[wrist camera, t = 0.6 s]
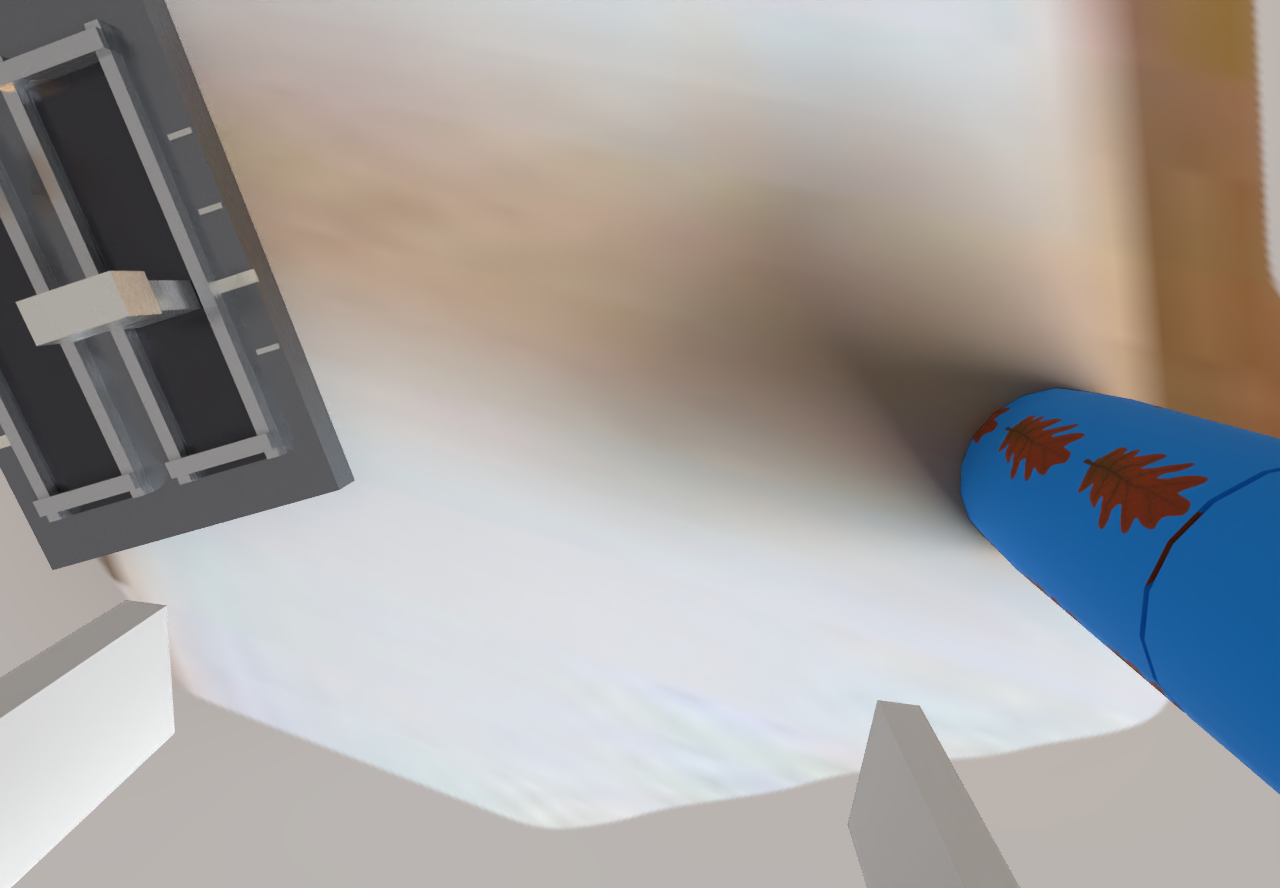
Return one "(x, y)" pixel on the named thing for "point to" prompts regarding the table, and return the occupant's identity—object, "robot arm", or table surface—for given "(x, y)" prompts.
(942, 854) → the robot arm
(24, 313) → the fader
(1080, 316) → the table surface
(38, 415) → the console
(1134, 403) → the thermos
